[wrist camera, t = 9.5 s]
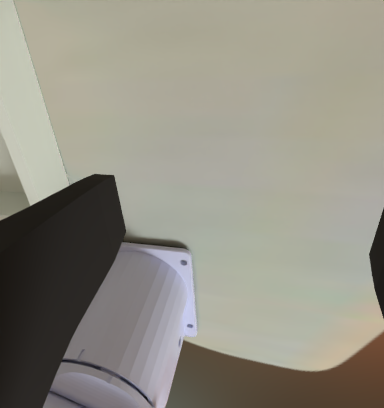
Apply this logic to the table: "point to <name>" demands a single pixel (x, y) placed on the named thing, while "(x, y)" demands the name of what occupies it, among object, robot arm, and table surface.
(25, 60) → the walled box
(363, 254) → the table surface
